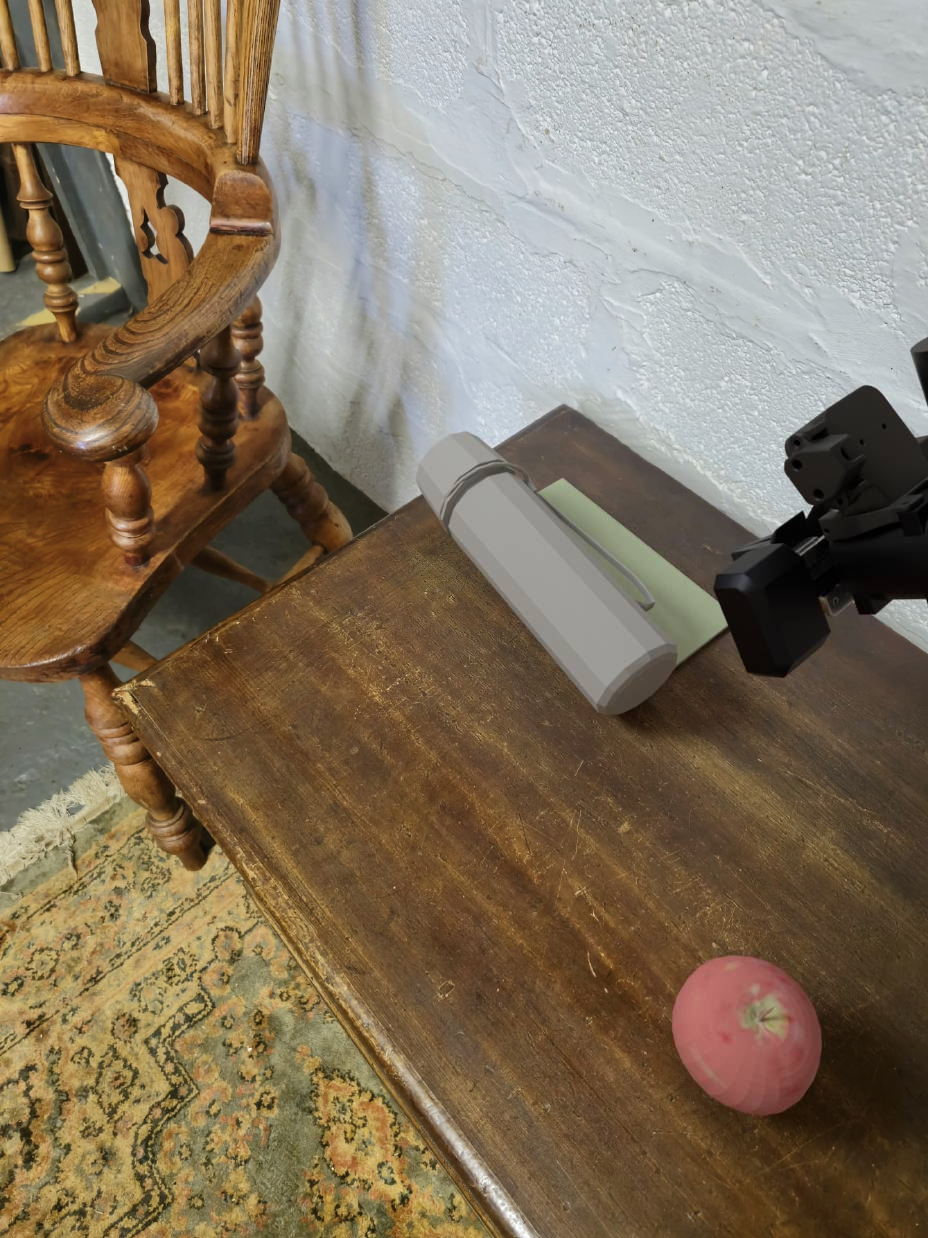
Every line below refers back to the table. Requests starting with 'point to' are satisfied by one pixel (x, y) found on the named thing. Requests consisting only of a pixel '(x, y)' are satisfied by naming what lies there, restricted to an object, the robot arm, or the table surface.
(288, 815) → the table surface
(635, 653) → the water bottle
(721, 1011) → the apple
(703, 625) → the mat
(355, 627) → the table surface
